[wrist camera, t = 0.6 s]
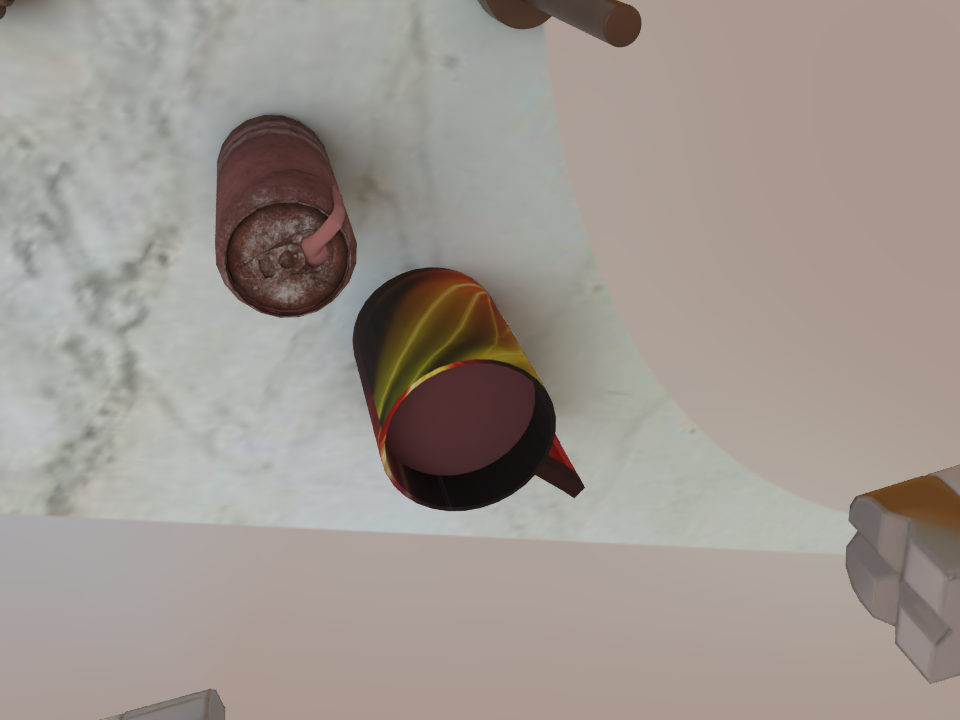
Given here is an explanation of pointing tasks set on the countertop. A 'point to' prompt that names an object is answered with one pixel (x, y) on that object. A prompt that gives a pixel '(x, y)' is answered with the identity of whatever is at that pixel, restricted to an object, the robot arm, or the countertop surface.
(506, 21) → the disc-capped wooden dowel
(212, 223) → the countertop surface
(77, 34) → the countertop surface
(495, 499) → the mug
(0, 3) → the rhino figurine
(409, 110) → the countertop surface
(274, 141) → the can
